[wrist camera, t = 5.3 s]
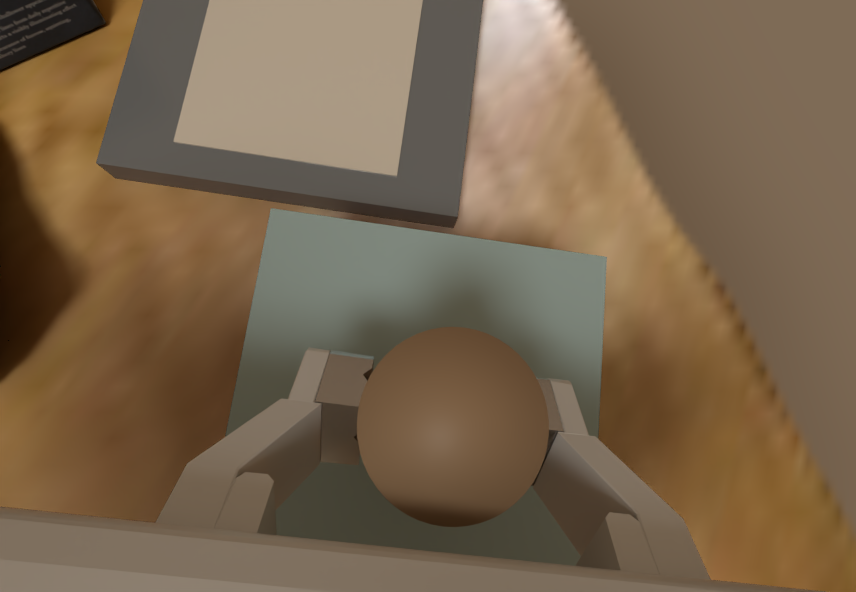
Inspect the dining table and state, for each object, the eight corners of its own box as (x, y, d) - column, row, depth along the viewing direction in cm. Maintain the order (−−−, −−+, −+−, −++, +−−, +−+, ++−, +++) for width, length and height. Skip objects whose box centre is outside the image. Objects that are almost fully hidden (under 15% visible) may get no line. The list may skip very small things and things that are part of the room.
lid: (208, 575, 14) (-30, 824, 6) (278, 219, 16) (173, 55, 8) (575, 611, 14) (802, 878, 7) (593, 264, 17) (779, 154, 9)
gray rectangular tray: (115, 178, 22) (94, 162, 20) (179, -51, 25) (165, -81, 23) (453, 228, 23) (457, 216, 21) (479, 2, 26) (486, -23, 24)
